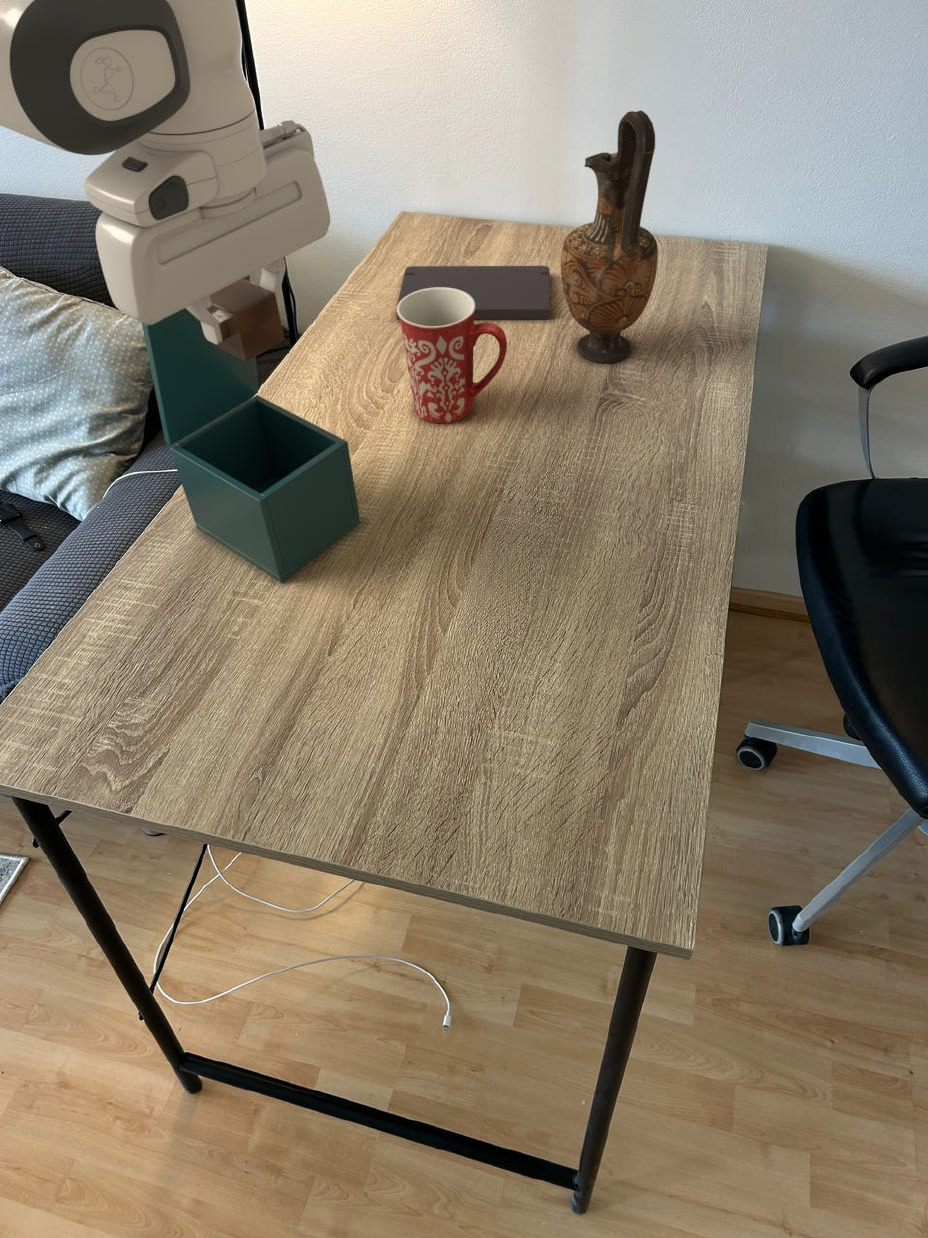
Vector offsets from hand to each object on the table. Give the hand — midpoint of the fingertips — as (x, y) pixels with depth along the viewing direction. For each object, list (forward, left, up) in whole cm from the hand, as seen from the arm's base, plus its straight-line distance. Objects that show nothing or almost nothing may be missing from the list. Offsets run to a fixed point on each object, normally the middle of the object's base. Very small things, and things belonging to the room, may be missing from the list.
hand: (244, 324), depth 77 cm
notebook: (+1, +55, -25) cm, 60 cm away
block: (0, 0, -2) cm, 2 cm away
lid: (-7, +3, -7) cm, 11 cm away
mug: (+8, +28, -25) cm, 38 cm away
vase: (+22, +46, -25) cm, 57 cm away
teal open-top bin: (-3, +2, -25) cm, 25 cm away
